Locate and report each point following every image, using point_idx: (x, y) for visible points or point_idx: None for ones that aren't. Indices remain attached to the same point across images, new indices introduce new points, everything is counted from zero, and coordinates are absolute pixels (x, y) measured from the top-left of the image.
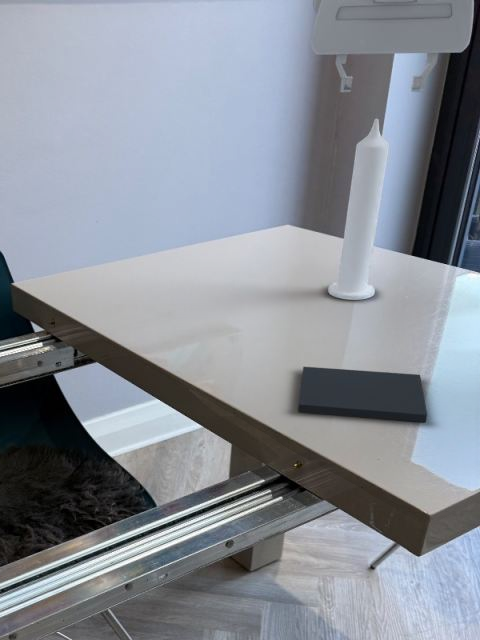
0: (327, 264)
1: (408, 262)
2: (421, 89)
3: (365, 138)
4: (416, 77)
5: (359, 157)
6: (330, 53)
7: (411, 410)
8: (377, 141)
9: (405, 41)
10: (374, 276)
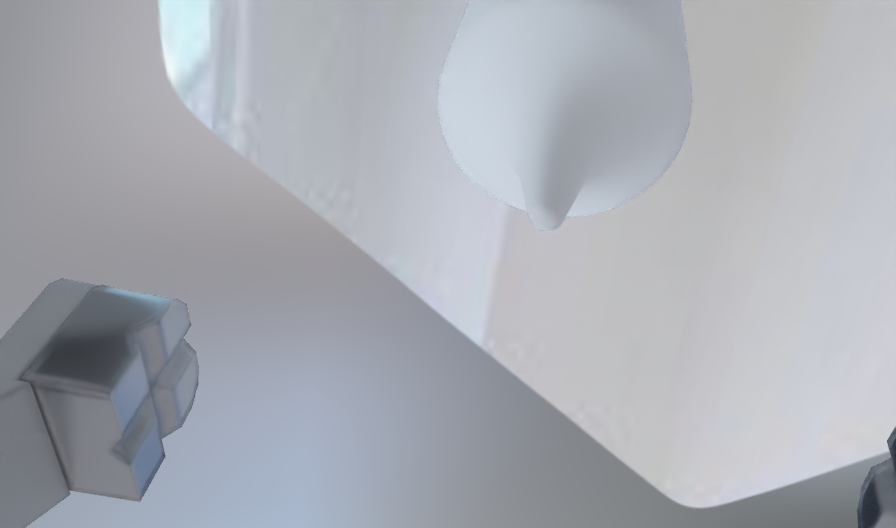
0: None
1: (354, 198)
2: (70, 281)
3: (631, 125)
4: (81, 387)
5: (671, 9)
6: None
7: None
8: (541, 48)
9: None
10: None
